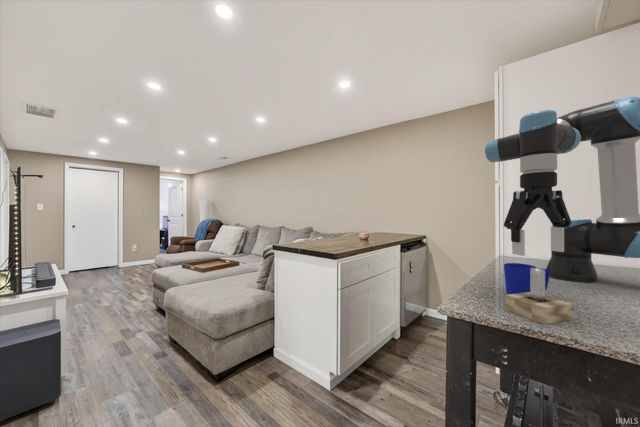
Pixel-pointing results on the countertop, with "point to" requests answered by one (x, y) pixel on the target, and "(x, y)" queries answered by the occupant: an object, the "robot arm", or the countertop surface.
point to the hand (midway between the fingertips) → (538, 253)
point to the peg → (537, 284)
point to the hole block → (539, 308)
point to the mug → (520, 277)
